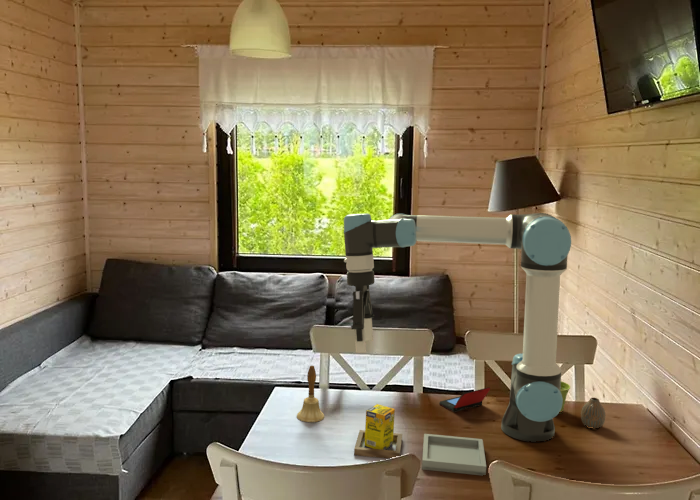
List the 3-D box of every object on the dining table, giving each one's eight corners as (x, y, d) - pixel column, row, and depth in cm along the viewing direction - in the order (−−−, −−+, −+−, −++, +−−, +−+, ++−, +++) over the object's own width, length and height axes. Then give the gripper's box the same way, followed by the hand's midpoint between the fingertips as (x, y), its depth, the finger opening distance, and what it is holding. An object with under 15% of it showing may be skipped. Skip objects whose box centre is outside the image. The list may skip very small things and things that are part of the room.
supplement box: (382, 454, 177) (384, 415, 175) (363, 448, 180) (365, 410, 179) (393, 446, 182) (395, 408, 180) (374, 440, 185) (376, 403, 184)
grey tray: (481, 447, 184) (482, 439, 183) (485, 475, 168) (486, 466, 167) (423, 442, 186) (424, 433, 185) (421, 469, 170) (422, 460, 170)
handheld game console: (466, 397, 220) (467, 376, 219) (489, 409, 212) (491, 387, 210) (437, 404, 213) (439, 382, 212) (460, 417, 205) (462, 393, 203)
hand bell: (325, 422, 196) (327, 370, 194) (297, 422, 195) (299, 370, 193) (322, 411, 204) (324, 361, 202) (295, 411, 203) (297, 361, 201)
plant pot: (535, 413, 209) (537, 386, 208) (539, 402, 218) (541, 377, 217) (566, 418, 206) (569, 392, 204) (569, 408, 214) (571, 382, 213)
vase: (606, 432, 197) (608, 404, 195) (581, 429, 198) (584, 401, 197) (602, 423, 203) (604, 396, 202) (578, 420, 205) (581, 393, 203)
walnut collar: (402, 440, 186) (402, 433, 186) (399, 459, 175) (399, 453, 174) (359, 435, 188) (359, 429, 188) (354, 455, 176) (354, 448, 176)
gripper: (353, 265, 195) (358, 336, 197) (338, 277, 171) (343, 358, 172) (379, 264, 194) (383, 336, 196) (367, 276, 169) (372, 357, 171)
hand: (364, 346), depth 184 cm, fingers open, 13 cm apart
